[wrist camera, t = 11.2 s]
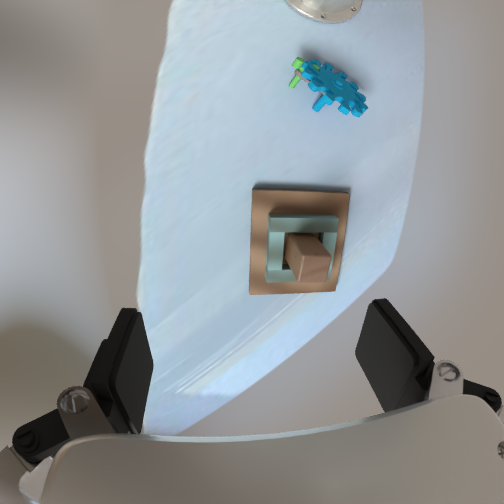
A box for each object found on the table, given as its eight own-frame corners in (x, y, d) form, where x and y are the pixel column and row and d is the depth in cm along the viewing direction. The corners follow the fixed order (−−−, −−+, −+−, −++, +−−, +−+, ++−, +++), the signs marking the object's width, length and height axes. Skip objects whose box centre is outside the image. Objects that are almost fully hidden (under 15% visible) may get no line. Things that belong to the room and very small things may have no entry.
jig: (252, 188, 39) (254, 193, 36) (346, 192, 40) (355, 197, 37) (248, 290, 45) (250, 301, 42) (332, 287, 47) (339, 297, 44)
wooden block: (287, 230, 40) (302, 253, 33) (314, 233, 41) (333, 255, 34) (283, 256, 42) (296, 283, 35) (309, 258, 43) (326, 284, 35)
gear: (374, 93, 33) (366, 122, 28) (349, 116, 38) (336, 150, 33) (311, 45, 31) (287, 63, 26) (290, 72, 36) (264, 97, 31)
